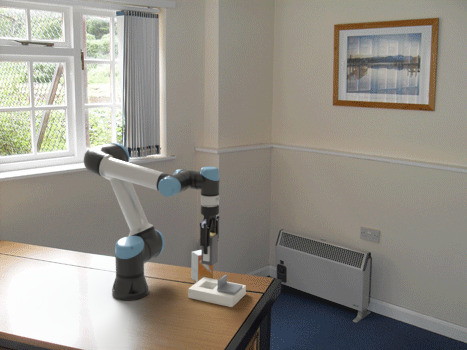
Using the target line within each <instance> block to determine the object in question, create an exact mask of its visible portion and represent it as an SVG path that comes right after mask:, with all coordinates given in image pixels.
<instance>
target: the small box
mask: <svg viewBox="0 0 467 350" xmlns="http://www.w3.org/2000/svg"><path fill="white" fill-rule="evenodd" d="M201 260H202V249H199V250H198V249H197V250H194V251H193V250H192V251H191V260H190V261H191V262H190V263H191V266H190V267H191V268H190V269H191V270H190V271H191V273H190V276H191V279H192V281H195V283H197V282H198V281H199V280H201V279H202V278H203V277H207V278H212V279H214V265H207V264H201Z"/></svg>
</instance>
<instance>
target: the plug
mask: <svg viewBox="0 0 467 350" xmlns="http://www.w3.org/2000/svg"><path fill="white" fill-rule="evenodd" d="M218 244H219V238H218V234H216V233H211V232H210V239H209V246H210V261H209V262H208V261H203V246H201V250H202V260H201V264H207V265H213V266H214V265H215V264H216V263H218V260H219V257H218V254H219V253H218V252H219V251H218V250H219V247H218V246H219V245H218Z"/></svg>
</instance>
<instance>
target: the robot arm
mask: <svg viewBox="0 0 467 350" xmlns="http://www.w3.org/2000/svg"><path fill="white" fill-rule="evenodd" d="M83 165H84V167H85V169H86V170H87V172H89V173H90V174H93V175H95V176H98V177H101V178H104V179H105V180H108V181H109V183H110V185H111V188H112V190H113V193H114V194H115V197H116V199H117V202H118V204H119V207H120V210H121V212H122V214H123V217H124V219H125V222H126V224H127V227H128V228H129V233H128V235H127V236H124V237H121V238H119V239H118V240H117V241H116V243H115V246H114V247H115V250H114V255H115V279H114V280H113V281H114V282H113V285H112V287H111V295H112V297H113V296H114V297H113V298H115V299H117V300H121V301H135V300H140V299H143V298H145V297H147V295H148V294H149V288H150V287H149V285H148V283H147V280H146V277H145V276H146V275H145V264H147V263H148V262H149V261H151V260H152V259H156V258H157V257H158V256H160V254H162V253H163V251H164V249H165V244H166V242H165V237H164V235H163V233H162V232H161V231H159V230H158V229H156V228H155V225H154V224H151V223H150V222H149V221H148V219H147V216H146V214H145V211H144V209H143V206H142V204H141V202H140V199H139V196H138V194H137V192H136V190H135V187H134V184H135V185H139V186H141V187H145V188H147V189H151V190H155V191H158V192H159V193H160V194H161V195H162V196H163V197H168V198H170V197H174V196H176V195H179V194H180V193H182V192H185V191H187V190H189V189H190V190H198V191H200V214H201V215H202V216H203V219H202V222H199V233H200V234H199V235H200V236H199V239H200V240H199V246H200V247H202V246H203V261H208V262H209V261H210V246H209V239H210V232H211V233H216V234H218V239H220V238H219V235H220V234H219V233H220V232H219V231H220V230H219V229H220V226H219V225H220V216H219V213H220V205H219V204H220V200H221V199H220V179H221V178H220V170H219V168H218V167H216V166H203V167H201V169H200V170H193V169H192V170H191V169H186V168H185V169H184V168H183V169H176V170H175V171H174V172H173V174H169V173H166V172H163V171H160V170H156V169H152V168H150V167H146V166H141V165H138V164H135V163H131V162H130V153H129V150H128V149H127V148H126V146H124V145H123V144H121V143H118V142H109V143H105V144H100V145H96V146H93V147H91V148H90V147H89V149H88V150H86V151H85V153H84V155H83Z"/></svg>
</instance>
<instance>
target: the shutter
mask: <svg viewBox="0 0 467 350" xmlns="http://www.w3.org/2000/svg"><path fill="white" fill-rule="evenodd" d="M217 280H218V288H217V291H221V292H226V293H231V294H236V293H237V292H238V291H239V290H240V289H241V288H242V287H243V285H244V284H242V285H238V284H239V283H237V284H233V283H234V282H232V283H228V282H229V281H228V275H227V274H224V275H223V276H220V278H219V279H217Z"/></svg>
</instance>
